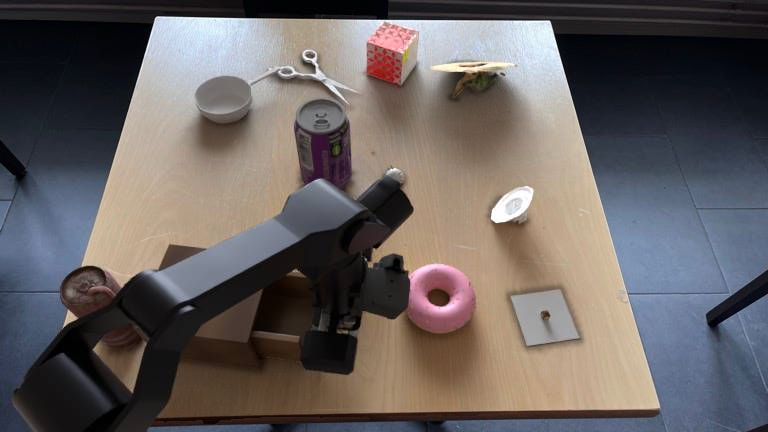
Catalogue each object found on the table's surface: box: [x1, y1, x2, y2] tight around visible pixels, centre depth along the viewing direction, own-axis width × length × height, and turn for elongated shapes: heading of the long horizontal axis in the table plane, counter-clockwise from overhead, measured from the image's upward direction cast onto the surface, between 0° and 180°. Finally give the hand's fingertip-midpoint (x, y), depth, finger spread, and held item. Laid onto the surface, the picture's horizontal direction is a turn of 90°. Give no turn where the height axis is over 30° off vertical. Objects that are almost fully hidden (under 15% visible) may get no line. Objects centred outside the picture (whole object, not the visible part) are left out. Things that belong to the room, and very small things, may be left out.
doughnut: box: [404, 262, 477, 334], centre depth 77 cm, size 11×11×4 cm
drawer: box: [250, 270, 360, 363], centre depth 71 cm, size 18×11×8 cm, turn 83°
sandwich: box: [429, 61, 518, 99], centre depth 105 cm, size 18×14×8 cm
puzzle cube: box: [366, 20, 420, 87], centre depth 106 cm, size 8×8×8 cm
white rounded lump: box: [385, 164, 405, 184], centre depth 91 cm, size 3×4×3 cm
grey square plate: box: [510, 289, 580, 347], centre depth 77 cm, size 8×8×2 cm
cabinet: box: [133, 243, 265, 370], centre depth 72 cm, size 15×13×10 cm
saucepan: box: [193, 65, 281, 124], centre depth 101 cm, size 11×18×4 cm, turn 129°
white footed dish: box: [490, 185, 534, 225], centre depth 86 cm, size 8×5×8 cm
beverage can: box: [293, 96, 353, 190], centre depth 86 cm, size 9×9×15 cm
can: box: [59, 265, 142, 350], centre depth 69 cm, size 6×6×14 cm
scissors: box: [267, 49, 362, 105], centre depth 106 cm, size 11×1×20 cm
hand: (342, 323), depth 71 cm, fingers closed, pressing on drawer
